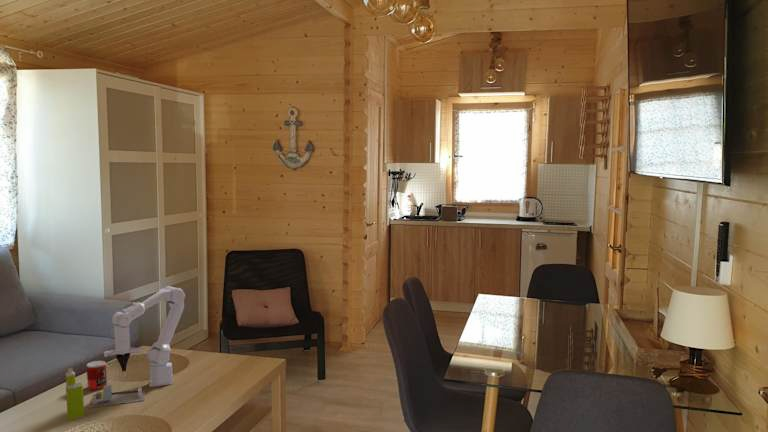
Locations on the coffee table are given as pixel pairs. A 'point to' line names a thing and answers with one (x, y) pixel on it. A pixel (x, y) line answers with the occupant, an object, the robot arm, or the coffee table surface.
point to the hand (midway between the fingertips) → (124, 370)
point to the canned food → (96, 375)
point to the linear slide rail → (117, 398)
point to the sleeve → (107, 392)
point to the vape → (74, 396)
